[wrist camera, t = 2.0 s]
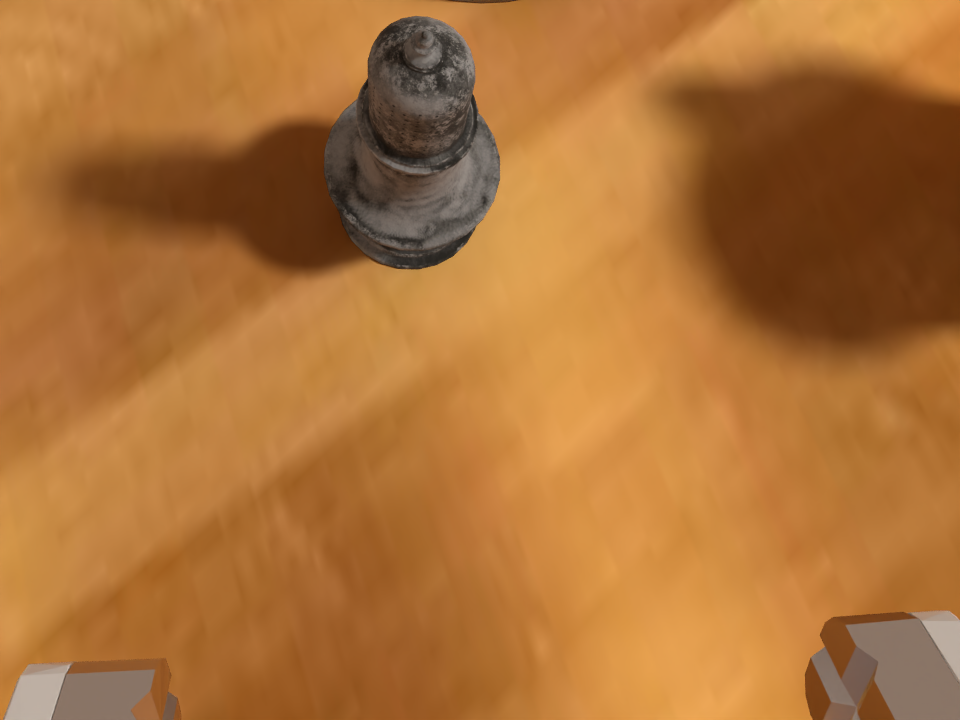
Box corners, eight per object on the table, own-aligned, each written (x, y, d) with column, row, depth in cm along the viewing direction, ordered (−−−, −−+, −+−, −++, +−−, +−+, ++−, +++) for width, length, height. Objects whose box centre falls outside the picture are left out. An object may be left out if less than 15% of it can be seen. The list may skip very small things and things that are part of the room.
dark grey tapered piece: (393, 308, 33) (400, 196, 21) (297, 182, 33) (250, 2, 21) (519, 218, 34) (593, 62, 22) (424, 96, 34) (448, -121, 22)
